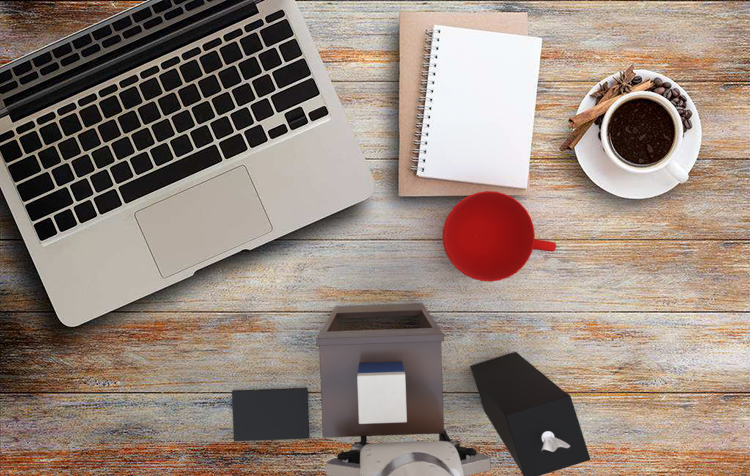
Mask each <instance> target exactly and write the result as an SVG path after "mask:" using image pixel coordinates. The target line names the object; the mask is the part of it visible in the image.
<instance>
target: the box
mask: <svg viewBox="0 0 750 476" xmlns="http://www.w3.org/2000/svg"><path fill="white" fill-rule="evenodd" d="M357 385H358V413H359V424H370V423H399V422H407V411H406V383H405V372H404V367H403V362H402V361H401V362H372V363H359V368H358V375H357Z"/></svg>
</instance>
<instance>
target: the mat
mask: <svg viewBox="0 0 750 476" xmlns="http://www.w3.org/2000/svg"><path fill="white" fill-rule="evenodd" d="M308 398H309V397H308V387H297V388H296V387H295V388H294V387H293V388H267V389H265V388H263V389H238V390H237V389H236V390H232V391H231V400H232V401H231V402H232V403H231V404H232V429H233V430H232V431H233V433H232V434H233V442H257V441H283V440H284V441H285V440H309V438H310V425H309V399H308Z"/></svg>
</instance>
